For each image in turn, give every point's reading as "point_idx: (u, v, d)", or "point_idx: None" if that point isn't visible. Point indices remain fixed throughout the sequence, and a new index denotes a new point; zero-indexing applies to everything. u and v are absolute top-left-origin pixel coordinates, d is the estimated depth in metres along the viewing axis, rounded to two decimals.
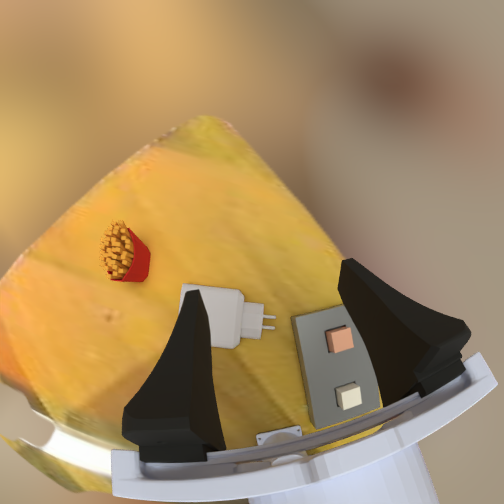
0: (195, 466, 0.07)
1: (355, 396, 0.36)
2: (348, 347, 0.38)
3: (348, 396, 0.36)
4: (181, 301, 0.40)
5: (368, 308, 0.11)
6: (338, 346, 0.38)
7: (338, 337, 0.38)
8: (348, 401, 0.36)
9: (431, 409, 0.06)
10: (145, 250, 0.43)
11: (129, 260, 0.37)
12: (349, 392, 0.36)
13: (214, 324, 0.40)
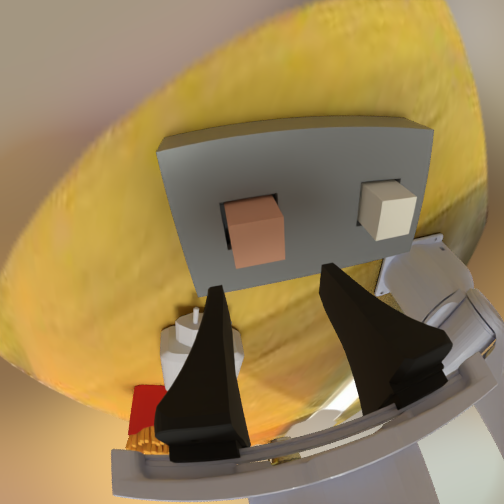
0: (195, 466, 0.07)
1: (398, 210, 0.17)
2: (280, 229, 0.16)
3: (389, 226, 0.17)
4: None
5: (346, 315, 0.11)
6: (271, 252, 0.17)
7: (249, 253, 0.17)
8: (398, 225, 0.18)
9: (431, 409, 0.06)
10: (140, 399, 0.35)
11: None
12: (382, 225, 0.17)
13: None
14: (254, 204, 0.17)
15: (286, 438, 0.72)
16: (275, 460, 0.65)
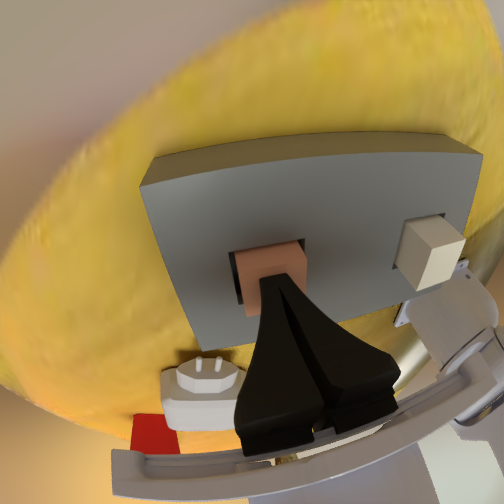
0: (195, 466, 0.07)
1: (445, 256, 0.13)
2: (301, 274, 0.13)
3: (433, 274, 0.13)
4: (190, 430, 0.27)
5: (293, 328, 0.11)
6: None
7: None
8: (442, 272, 0.13)
9: (431, 409, 0.06)
10: (140, 429, 0.31)
11: None
12: (426, 274, 0.13)
13: (216, 417, 0.25)
14: None
15: None
16: None
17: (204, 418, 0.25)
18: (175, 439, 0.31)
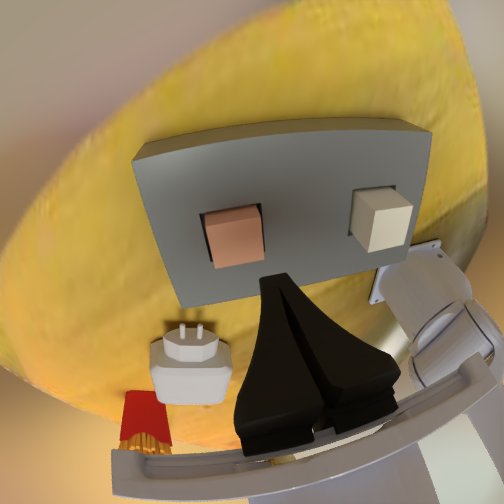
0: (195, 466, 0.07)
1: (392, 220, 0.16)
2: (257, 230, 0.16)
3: (382, 236, 0.16)
4: (178, 403, 0.31)
5: (293, 328, 0.11)
6: (250, 252, 0.17)
7: (227, 253, 0.17)
8: (392, 236, 0.17)
9: (431, 409, 0.06)
10: (131, 405, 0.34)
11: (149, 438, 0.30)
12: (374, 236, 0.16)
13: (200, 387, 0.28)
14: None
15: None
16: None
17: (189, 388, 0.28)
18: (164, 415, 0.34)
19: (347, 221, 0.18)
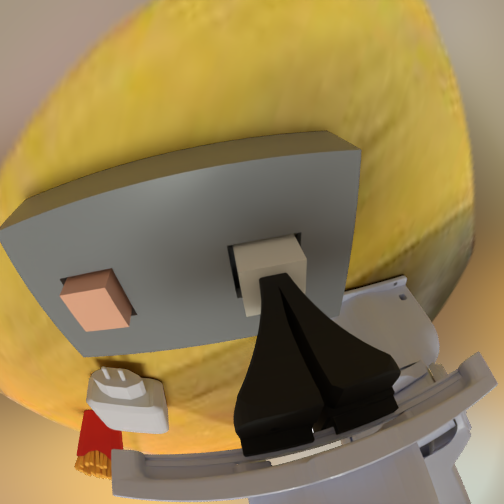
0: (195, 466, 0.07)
1: None
2: (108, 300, 0.13)
3: None
4: (124, 430, 0.28)
5: (293, 328, 0.11)
6: (111, 320, 0.14)
7: (90, 320, 0.13)
8: None
9: (431, 409, 0.06)
10: (87, 424, 0.30)
11: (101, 457, 0.27)
12: (249, 299, 0.13)
13: (136, 421, 0.25)
14: None
15: None
16: None
17: (127, 420, 0.25)
18: (117, 436, 0.31)
19: (231, 282, 0.15)
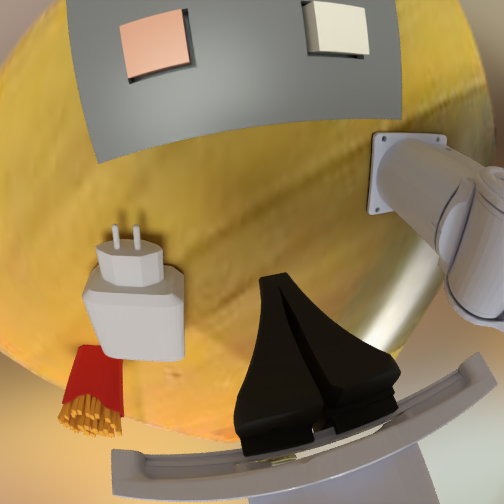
0: (195, 466, 0.07)
1: (340, 16, 0.10)
2: (178, 23, 0.09)
3: (334, 34, 0.10)
4: (126, 358, 0.25)
5: (293, 328, 0.11)
6: (170, 52, 0.10)
7: (142, 55, 0.10)
8: (349, 37, 0.11)
9: (431, 409, 0.06)
10: (80, 361, 0.27)
11: (93, 403, 0.24)
12: (323, 30, 0.10)
13: (145, 329, 0.22)
14: None
15: None
16: None
17: (132, 330, 0.22)
18: (116, 376, 0.28)
19: (302, 36, 0.11)
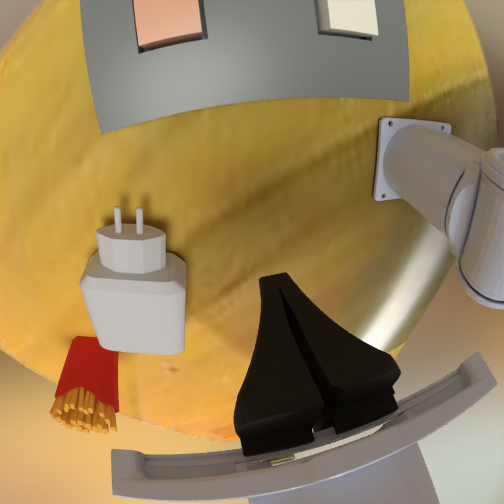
0: (195, 466, 0.07)
1: None
2: None
3: (345, 14, 0.10)
4: (123, 350, 0.24)
5: (293, 328, 0.11)
6: (182, 22, 0.09)
7: (155, 24, 0.09)
8: (358, 18, 0.10)
9: (431, 409, 0.06)
10: (74, 353, 0.26)
11: (87, 396, 0.22)
12: (333, 9, 0.10)
13: (145, 319, 0.22)
14: None
15: None
16: None
17: (131, 320, 0.21)
18: (112, 369, 0.27)
19: (313, 15, 0.11)
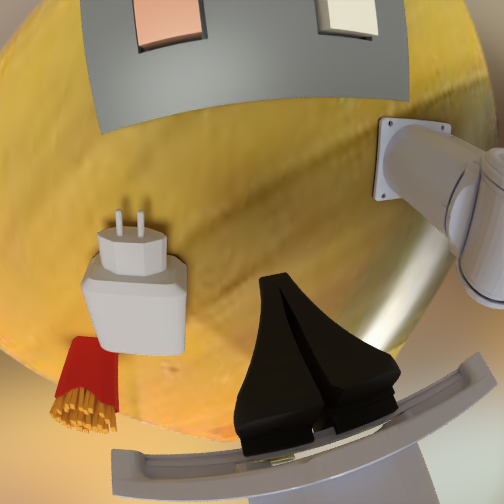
0: (195, 466, 0.07)
1: None
2: None
3: (345, 14, 0.10)
4: (124, 352, 0.24)
5: (293, 328, 0.11)
6: (182, 22, 0.09)
7: (155, 24, 0.09)
8: (358, 18, 0.10)
9: (431, 409, 0.06)
10: (74, 353, 0.26)
11: (87, 396, 0.22)
12: (333, 9, 0.10)
13: (145, 321, 0.22)
14: None
15: None
16: None
17: (132, 322, 0.22)
18: (112, 369, 0.27)
19: (313, 15, 0.11)
